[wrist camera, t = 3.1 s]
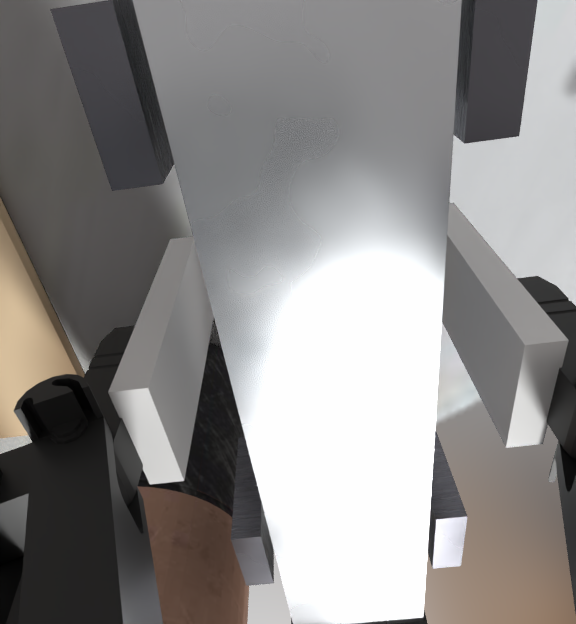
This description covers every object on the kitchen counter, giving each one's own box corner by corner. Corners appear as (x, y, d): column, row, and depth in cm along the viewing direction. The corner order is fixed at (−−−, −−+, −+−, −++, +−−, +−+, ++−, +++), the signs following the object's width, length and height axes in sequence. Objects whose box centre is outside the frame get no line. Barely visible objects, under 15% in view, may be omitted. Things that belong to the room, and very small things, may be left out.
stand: (384, 334, 24) (459, 571, 14) (257, 349, 24) (248, 590, 14) (376, -46, 15) (550, -99, 6) (183, -16, 16) (40, -19, 6)
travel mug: (107, 320, 23) (-344, 1228, 6) (268, 342, 24) (258, 1177, 7) (108, 431, 27) (-159, 1153, 10) (245, 447, 28) (205, 1127, 11)
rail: (393, 492, 18) (428, 636, 14) (289, 502, 18) (293, 647, 14) (388, -135, 8) (495, -246, 4) (165, -99, 8) (71, -173, 4)
